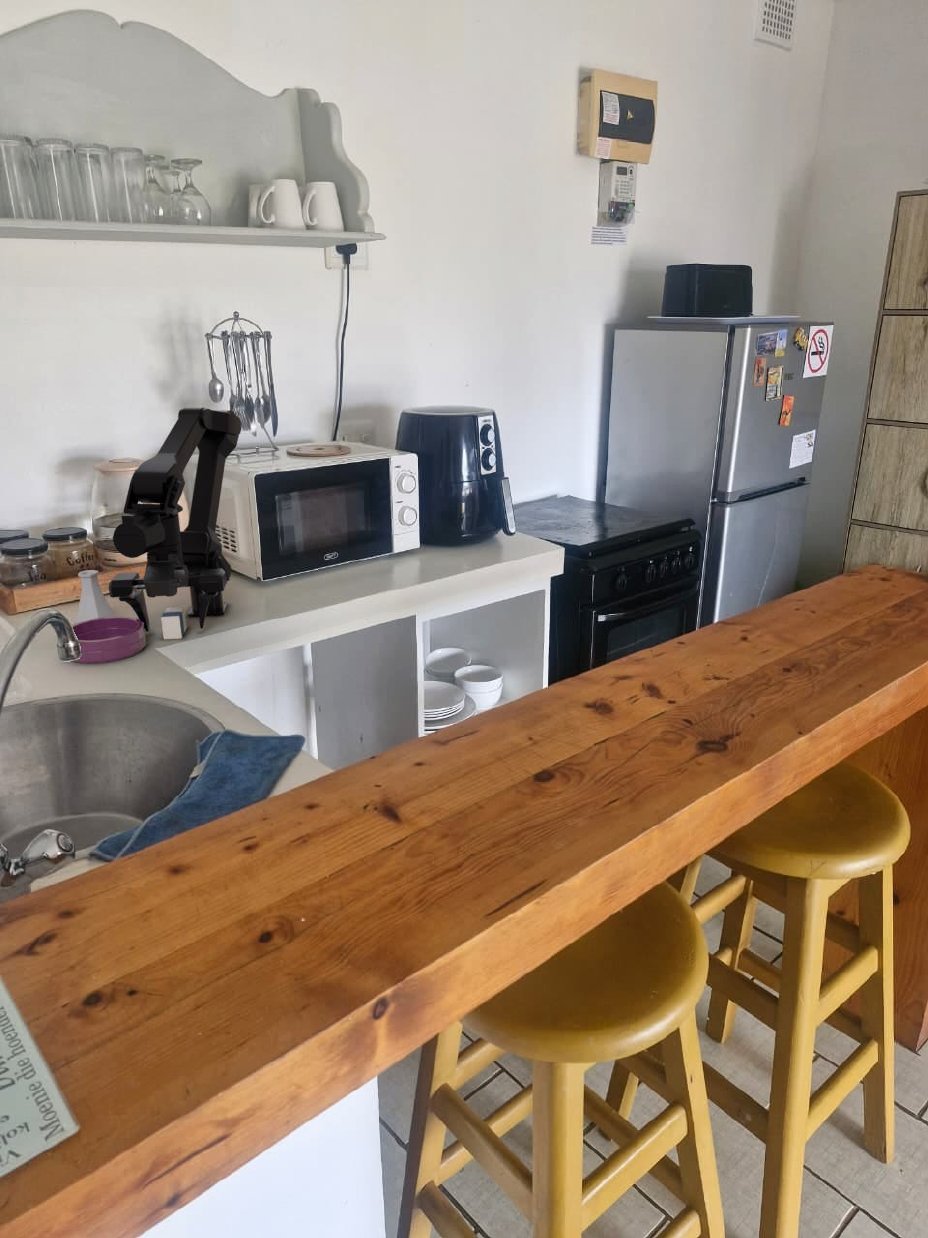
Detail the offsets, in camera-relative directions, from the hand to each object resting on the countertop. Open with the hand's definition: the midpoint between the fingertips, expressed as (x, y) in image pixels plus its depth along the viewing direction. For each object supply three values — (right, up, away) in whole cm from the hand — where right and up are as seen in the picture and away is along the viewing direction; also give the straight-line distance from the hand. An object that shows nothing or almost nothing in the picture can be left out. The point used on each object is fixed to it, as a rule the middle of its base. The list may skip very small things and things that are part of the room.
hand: (175, 629), depth 152 cm
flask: (-16, 0, +5) cm, 17 cm away
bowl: (-9, -4, -8) cm, 12 cm away
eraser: (0, -1, 0) cm, 1 cm away
